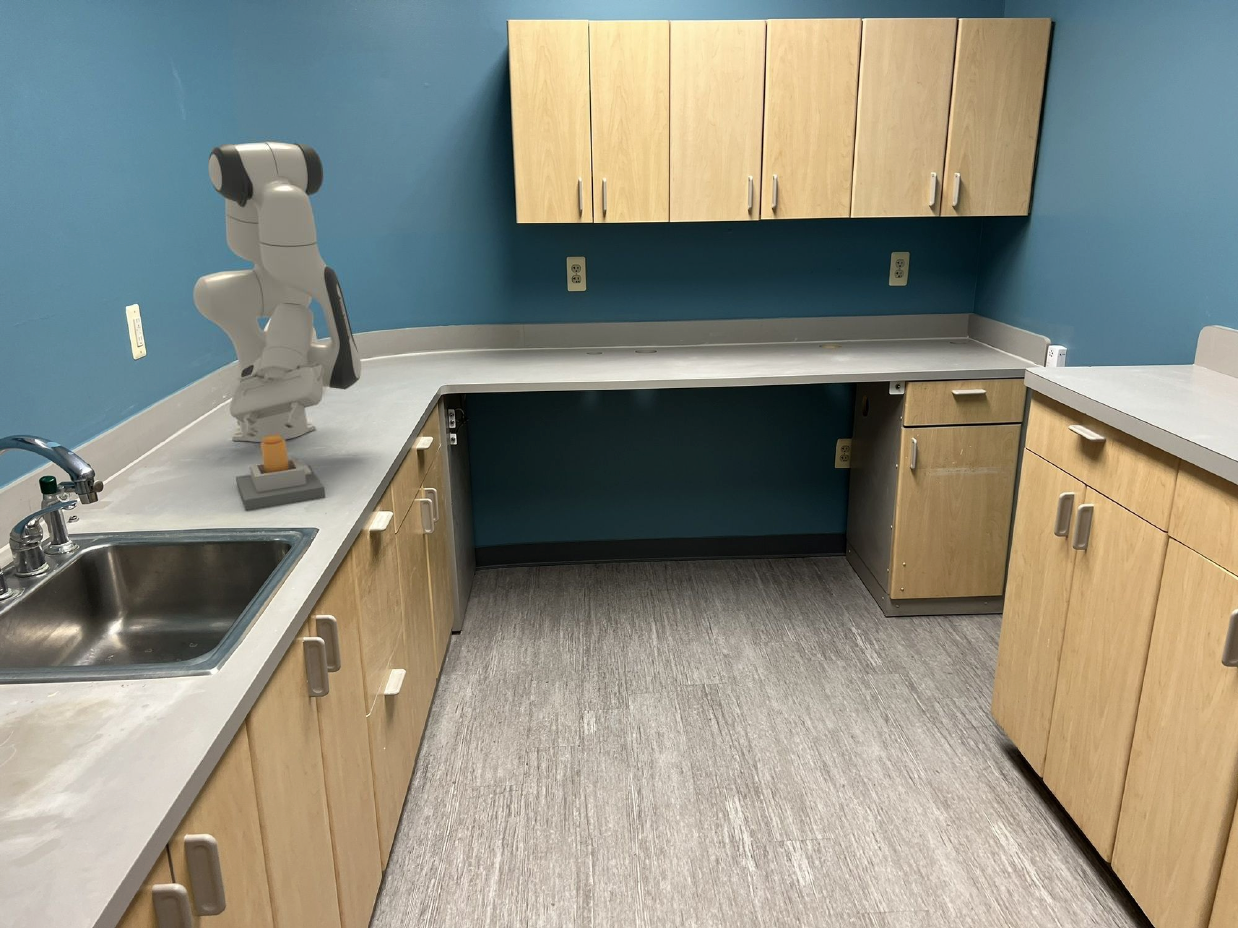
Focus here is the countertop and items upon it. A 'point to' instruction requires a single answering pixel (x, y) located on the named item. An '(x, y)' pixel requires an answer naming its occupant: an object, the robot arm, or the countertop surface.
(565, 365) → the countertop surface
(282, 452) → the orange bottle
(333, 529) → the countertop surface
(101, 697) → the countertop surface
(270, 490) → the plate
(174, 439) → the countertop surface
